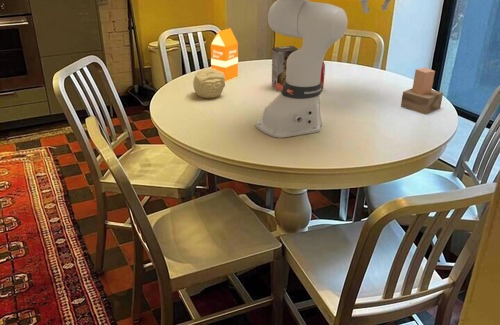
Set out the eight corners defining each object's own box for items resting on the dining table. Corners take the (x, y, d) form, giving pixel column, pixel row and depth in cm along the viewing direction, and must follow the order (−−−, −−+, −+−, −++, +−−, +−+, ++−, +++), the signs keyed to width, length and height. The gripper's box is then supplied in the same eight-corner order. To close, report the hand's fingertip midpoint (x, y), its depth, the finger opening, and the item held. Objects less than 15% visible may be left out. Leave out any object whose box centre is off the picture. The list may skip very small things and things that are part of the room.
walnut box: (425, 115, 169) (428, 98, 166) (400, 107, 176) (403, 91, 173) (440, 108, 175) (443, 92, 172) (415, 101, 181) (418, 86, 179)
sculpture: (200, 102, 178) (198, 74, 173) (190, 93, 187) (188, 65, 182) (228, 98, 182) (228, 70, 177) (217, 89, 192) (216, 62, 187)
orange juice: (211, 78, 204) (209, 30, 195) (224, 73, 211) (223, 27, 202) (225, 81, 200) (225, 33, 191) (238, 76, 207) (238, 29, 198)
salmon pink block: (421, 94, 170) (425, 72, 166) (412, 90, 174) (415, 69, 170) (430, 92, 172) (435, 71, 168) (421, 89, 175) (425, 67, 172)
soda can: (322, 93, 188) (325, 63, 182) (304, 92, 189) (306, 62, 184) (323, 87, 194) (326, 58, 189) (306, 86, 195) (308, 57, 190)
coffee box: (291, 84, 197) (293, 45, 190) (297, 89, 192) (300, 49, 184) (270, 86, 195) (271, 47, 187) (276, 91, 189) (277, 51, 182)
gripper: (365, -28, 160) (360, 15, 166) (406, -31, 170) (400, 10, 176) (351, -29, 165) (347, 12, 171) (393, -32, 175) (387, 7, 181)
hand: (375, 11), depth 174 cm, fingers open, 8 cm apart
